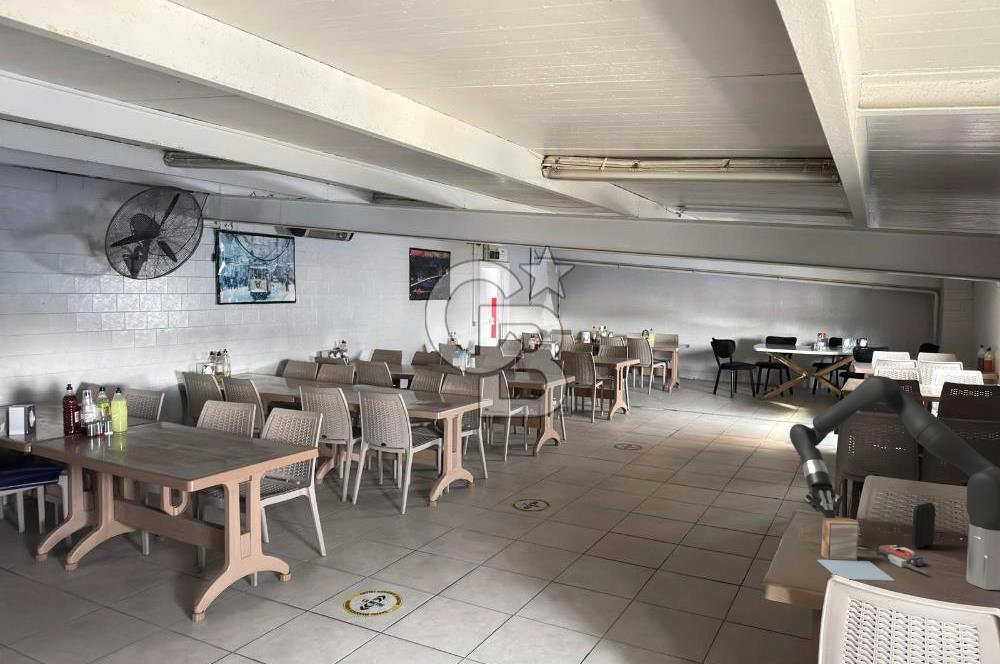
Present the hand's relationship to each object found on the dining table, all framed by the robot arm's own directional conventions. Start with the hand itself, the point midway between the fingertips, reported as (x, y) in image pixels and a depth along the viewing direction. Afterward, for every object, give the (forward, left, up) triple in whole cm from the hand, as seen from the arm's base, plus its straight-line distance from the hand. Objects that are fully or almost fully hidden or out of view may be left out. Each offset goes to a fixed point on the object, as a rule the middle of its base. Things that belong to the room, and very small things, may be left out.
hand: (831, 522), depth 230 cm
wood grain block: (-6, 0, -9) cm, 11 cm away
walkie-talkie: (-10, -19, -10) cm, 24 cm away
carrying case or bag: (+7, -34, -10) cm, 36 cm away
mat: (-17, 0, -9) cm, 19 cm away
